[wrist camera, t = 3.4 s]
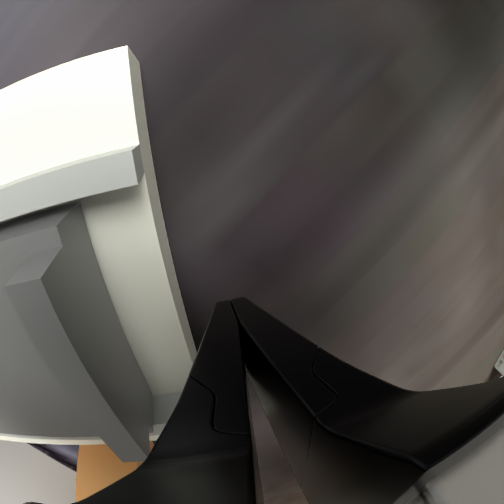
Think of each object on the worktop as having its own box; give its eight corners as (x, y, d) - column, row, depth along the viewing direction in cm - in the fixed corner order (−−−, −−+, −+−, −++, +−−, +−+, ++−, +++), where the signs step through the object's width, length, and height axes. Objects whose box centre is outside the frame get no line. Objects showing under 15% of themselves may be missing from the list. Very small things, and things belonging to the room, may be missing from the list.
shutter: (152, 392, 11) (155, 466, 8) (6, 401, 10) (-10, 458, 7) (79, 200, 8) (31, 254, 5) (-78, 254, 6) (-127, 301, 3)
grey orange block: (156, 447, 18) (170, 560, 10) (107, 451, 17) (109, 558, 9) (136, 418, 16) (145, 552, 8) (81, 422, 15) (75, 546, 8)
